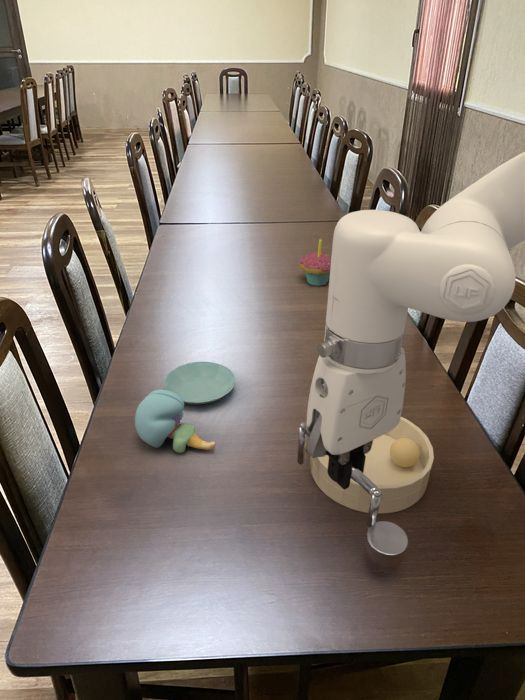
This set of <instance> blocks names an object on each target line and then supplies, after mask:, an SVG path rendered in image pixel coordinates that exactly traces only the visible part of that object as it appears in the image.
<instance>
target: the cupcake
mask: <svg viewBox="0 0 525 700" xmlns="http://www.w3.org/2000/svg"><path fill="white" fill-rule="evenodd" d="M322 244H323V239H322V236H320V238H319V239H318V248H317V251H313V252H310V253H308V254H306V255H304V256H303V257H302V258H300V262H299V268H300V269H301V270H303V273H304V274H305V277H306V282H307V283H308V284H309V285H311V286H317V287H320V286H321V287H322V286H325V285H326V284H328V283H329V279H330V268H331V256H332V255H330V254H326V253H325V252H322Z"/></svg>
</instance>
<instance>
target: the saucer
mask: <svg viewBox="0 0 525 700" xmlns="http://www.w3.org/2000/svg"><path fill="white" fill-rule="evenodd" d="M235 384H236V376H235V374H234V373H233V371H232V370H231V369H230V368H228V367H227V366H225V365H223V364H220V363H217V362H211V361H193V362H188V363H185V364H182V365H180V366H177V367H176V368H174V369H172V370H171V371H170V372H169V373H168V374H167V375H166V376H165V378H164V380H163V388H164V390H169V391H172V392H175V393H177V394H178V395H180V396H181V397H182V399H183V401H184V404H190V405H204V404H205V405H206V404H209V403H213V402H215V401H216V402H217V401H218V400H220V399H221V398H223V397H225V396H226V395H227V394H229V393H230V392H231V391H232V390H233V388H234V386H235Z"/></svg>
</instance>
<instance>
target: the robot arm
mask: <svg viewBox="0 0 525 700" xmlns="http://www.w3.org/2000/svg"><path fill="white" fill-rule="evenodd" d="M524 241H525V151H523V152H521V153H519V154H518V155H516V156H514V157H512V158H510V159H508V160H507V161H506V162H503V163H502V164H501V165H499V166H497V167H496V168H494V169H493V170H491V171H490V172H488V173H487V174H485V175H484V176H482V177H481V178H479V179H478V180H476V181H475V182H473V183H472V184H470V185H469V186H467V187H466V188H465V189H463V190H461V191H460V192H459V193H457V194H456V195H454V196H453V197H451V198H450V199H448V200H447V201H445V202H444V203H443V204H442V205H441V206H440V207H438V208H437V209H436V210H435V211H434V212H433V213H432V214H431V215H430V216H429V217H428V219H427V220H426V221H425V223H424V225H423V227H422V228H421V230H420V228H419V227H418V224H417V223H416V222H415V221H414V220H413V219H411V218H410V217H409V216H406V215H404V214H401V213H398V212H395V211H389V210H382V209H362V210H356V211H351V212H348V213H347V214H344V216H342V217H341V218H340V219H339V220H338V221H337V223H336V225H335V227H334V229H333V237H332V246H331V247H332V248H331V255H330V256H331V268H330V277H329V279H328V291H327V292H328V293H327V303H326V313H325V325H324V335H323V336H324V338H323V342H322V343H320V344H318V345H317V353H318V358H317V361H316V365H315V368H314V371H313V375H312V380H311V385H310V388H309V389H310V390H309V396H308V401H307V410H306V423H307V432H308V433H309V434H310V437H308V440H307V441H306V448H305V451H306V453H307V454H308V455H309V456H310V455H311V456H312V457H313V458H317V457H324V456H325V455H328V456H329V462H328V471H327V472H328V475H329V477H330V478H331V479H332V480H333V481H334V482H336V483H337V484H339V485H340V486H341V487H342V488H343V489H344V490H345V489H347V488H349V486H350V479H351V478H352V477H351V472H352V465H354V466H356V467H357V468H358V469H359V470H360V471H361V472H362V473H363V471H364V465H365V459H366V456H365V454H367V453H368V452H369V451H370V450H371V448H372V443H373V440H374V439H376V438H378V437H380V436H382V435H384V434H386V433H388V432H389V431H391V430H393V429H394V428H395V427H396V426H397V425H398V424H399V421H400V418H401V417H402V414H403V413H402V412H403V406H404V401H405V391H406V380H407V363H406V362H407V361H406V353H405V352H406V351H405V349H404V347H403V341H404V335H405V330H406V329H405V328H406V323H407V318H408V311H409V309H410V310H413V311H418V312H420V313H424V314H427V315H430V316H433V317H436V318H438V319H439V318H440V319H443V320H448V321H452V322H460V323H473V322H479V321H483V320H487V319H489V318H491V317H493V316H496V315H497V314H498V313H499V312H501V311H502V310H503V309H504V308H505V307H506V306H507V304H508V303H509V302H510V301H511V298H512V296H513V293H514V290H515V287H516V270H515V265H514V262H513V259H512V256H511V253H510V251H509V250H510V249H513V248H514V247H516V246H517V245H519V244H520V243H522V242H524ZM352 479H353V478H352ZM353 480H354V479H353ZM354 481H355V480H354ZM355 482H356V481H355Z"/></svg>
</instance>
